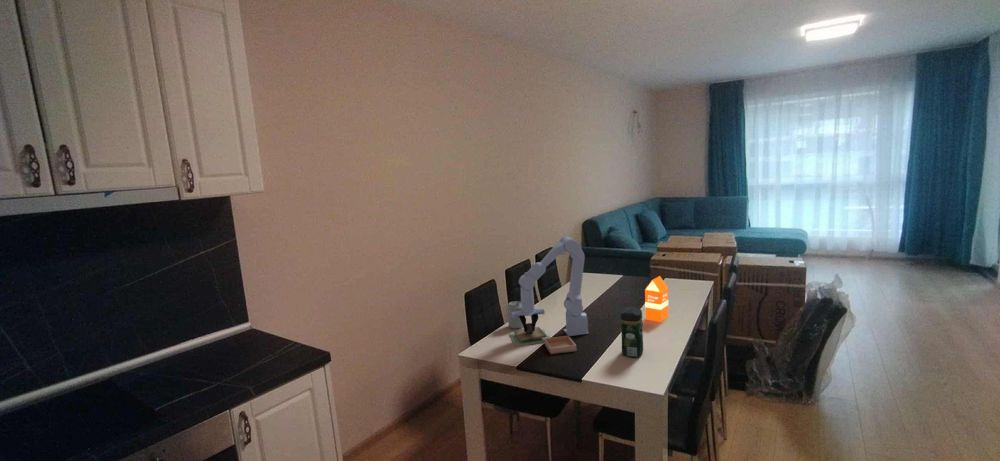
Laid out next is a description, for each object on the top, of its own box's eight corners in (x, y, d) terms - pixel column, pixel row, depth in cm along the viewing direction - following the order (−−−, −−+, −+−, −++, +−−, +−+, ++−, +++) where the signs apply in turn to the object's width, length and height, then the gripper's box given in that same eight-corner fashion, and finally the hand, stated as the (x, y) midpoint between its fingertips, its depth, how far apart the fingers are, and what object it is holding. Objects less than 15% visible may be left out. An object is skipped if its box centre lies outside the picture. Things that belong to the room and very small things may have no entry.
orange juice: (668, 316, 217) (668, 276, 214) (660, 322, 211) (660, 280, 208) (653, 313, 222) (652, 274, 219) (645, 319, 216) (644, 278, 213)
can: (523, 329, 213) (521, 305, 212) (507, 329, 215) (505, 305, 213) (525, 323, 221) (523, 300, 219) (510, 323, 222) (508, 300, 220)
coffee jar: (625, 346, 186) (624, 304, 184) (645, 349, 182) (644, 305, 180) (619, 356, 178) (618, 311, 175) (639, 359, 174) (638, 313, 171)
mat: (543, 330, 210) (543, 329, 210) (551, 341, 197) (550, 340, 197) (509, 334, 208) (509, 333, 208) (515, 346, 195) (515, 345, 194)
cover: (538, 328, 209) (538, 318, 208) (546, 337, 197) (545, 326, 197) (513, 331, 207) (513, 321, 206) (519, 340, 195) (519, 330, 194)
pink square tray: (568, 340, 196) (568, 335, 196) (576, 350, 186) (576, 345, 185) (544, 344, 195) (543, 338, 194) (550, 354, 184) (550, 348, 184)
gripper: (513, 306, 195) (515, 336, 197) (545, 302, 197) (547, 332, 199) (510, 301, 202) (512, 330, 204) (541, 298, 204) (543, 326, 206)
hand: (529, 330), depth 202 cm, fingers closed on cover, 3 cm apart
